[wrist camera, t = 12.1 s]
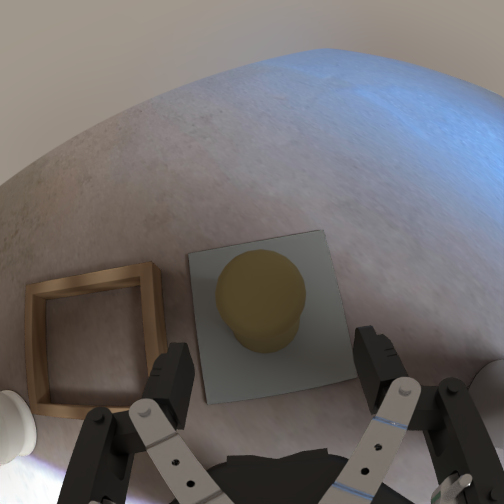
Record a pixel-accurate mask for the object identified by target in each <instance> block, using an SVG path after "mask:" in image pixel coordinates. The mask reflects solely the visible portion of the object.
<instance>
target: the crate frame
mask: <svg viewBox="0 0 504 504" xmlns="http://www.w3.org/2000/svg"><path fill="white" fill-rule="evenodd" d="M139 285H140V287H141V305H142V319H143V331H144V342H145V352H146V361H147V369H148V377H149V376H150V372H151V370H152V367H153V364H154V361H155V360H156V359H157V357H158V356H159V355H160V354H161V353H167V351H168V346H167V337H166V328H165V317H164V306H163V294H162V280H161V270H160V269H159V268H158V267H157V266H156V265H155V264H154V263H153V262H152V261H150V262H145V263H139V264H134V265H129V266H123V267H118V268H112V269H107V270H102V271H96V272H91V273H86V274H81V275H75V276H70V277H65V278H60V279H54V280H49V281H44V282H39V283H34V284H28V285H26V294H25V361H26V375H27V387H28V396H29V404H30V411H31V414H37V415H44V416H52V417H61V418H71V419H82V420H85V417H86V415H87V413H88V412H89V411H90V410H92V409H93V408H95V407H100V406H92V405H72V404H58V403H51V398H50V389H49V379H48V367H47V351H46V300H49V299H56V298H63V297H69V296H76V295H82V294H89V293H95V292H101V291H108V290H114V289H120V288H126V287H133V286H139ZM102 407H106V408H108V409H109V410H110V411H111V412H112V413H116V412H122V411H127V410H129V409H130V407H131V406H102Z"/></svg>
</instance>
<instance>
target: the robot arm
mask: <svg viewBox="0 0 504 504" xmlns="http://www.w3.org/2000/svg"><path fill="white" fill-rule="evenodd" d="M353 360H354V364H355V367H356V370H357V373H358V376H359V379H360V382H361V385H362V388H363V391H364V394H365V397H366V400H367V403H368V406H369V409H370V412H371V415H373V414H376V416H375V417H373V419H372V420H371V422H370V424H369V426H368V428H367V430H366V431H365V433H364V435H363V437H362V439H361V440H360V442H359V444H358V445H357V447H356V449H355V451H354V452H353V454H352V456H351V457H350V459H347V458H345V457H342V456H338V455H332V454H328V451H327V448H324V449H317V450H309V451H302V452H299V453H296V454H293V455H290V456H286V457H283V458H280V459H272V458H266V457H259V456H253V455H241V456H227V462H224V463H221V464H218V465H215V466H213V467H211V468H209V469H208V470H205V469H204V468H203V467H202V465H201V464H200V463H199V461H198V460H197V459H196V457H195V456H194V455H193V453H192V452H191V451H190V449H189V448H188V447H187V445H186V444H185V442H184V441H183V440H182V438H181V437H180V435H179V434H178V433H176V429H182V430H184V427H185V422H186V417H187V411H188V406H189V401H190V396H191V391H192V386H193V381H194V376H195V370H194V364H193V361H192V358H191V355H190V352H189V348H188V345H187V343H170V345H169V348H168V351H167V353H161V354H160V355H159V356H158V357H157V359H156V360H155V361H154V364H153V367H152V370H151V372H150V376H149V378H148V381H147V384H146V387H145V390H144V392H143V395H142V398H141V400H138V401H136V402H135V403H133V404H132V406H131V407H130V409H129V410H127V411H122V412H116V413H112V412H111V411H110V410H109V409H108V408H106V407H102V406H100V407H95V408H93V409H92V410H90V411H89V412H88V413H87V415H86V417H85V420H84V422H83V425H82V428H81V431H80V433H79V436H78V439H77V442H76V445H75V447H74V450H73V453H72V456H71V459H70V462H69V465H68V469H67V472H66V475H65V478H64V481H63V485H62V488H61V491H60V495H59V498H58V502H57V504H125V500H126V495H127V489H128V484H129V479H130V473H131V468H132V463H133V459H134V454H135V453H138V452H143V451H147V452H148V454H149V456H150V457H151V459H152V461H153V463H154V464H155V466H156V468H157V469H158V471H159V472H160V474H161V476H162V477H163V479H164V480H165V482H166V484H167V485H168V487H169V488H170V490H171V491H172V493H173V494H174V496H175V497H176V498H175V499H174V500H173V501H172V502H171V503H169V504H414V503H413V502H411V501H410V500H408V499H407V498H405V497H403V496H402V495H400V494H399V493H397V492H396V491H394V490H393V489H391V488H390V487H388V486H387V485H386V484H384V483H383V482H382V481H383V479H384V477H385V475H386V473H387V471H388V470H389V468H390V465H391V463H392V461H393V459H394V457H395V455H396V453H397V451H398V449H399V446H400V444H401V442H402V440H403V437H404V435H405V433H406V430H423V433H424V436H425V440H426V443H427V446H428V449H429V452H430V456H431V459H432V462H433V466H434V469H435V473H436V476H437V480H438V484H439V486H438V488H437V489H436V490H435V491H434V492H433V494H432V497H431V504H504V470H503V468H502V465H501V463H500V460H499V458H498V455H497V453H496V450H495V448H494V447H496V448H500V449H504V359H502V360H496V361H493V362H491V363H489V364H487V365H486V366H485V367H483V368H482V369H481V370H480V372H479V373H478V374H477V375H476V377H475V378H474V380H473V382H472V383H471V385H470V388H469V390H467V388H466V386H465V384H464V383H463V382H462V381H461V380H459V379H456V378H447V379H444V380H443V381H441V383H440V384H439V386H421V385H420V384H419V383H418V382H417V381H416V380H415V379H413V378H410V377H409V376H408V374H407V372H406V370H405V368H404V366H403V364H402V362H401V360H400V358H399V356H398V355H397V352H396V350H395V349H394V346H393V344H392V343H391V341H390V340H389V339H388V338H387V337H386V336H385V335H383V334H381V335H377V334H376V332H375V330H374V328H373V327H372V326H364V327H358V328H356V330H355V339H354V348H353Z"/></svg>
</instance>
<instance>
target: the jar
mask: <svg viewBox="0 0 504 504" xmlns="http://www.w3.org/2000/svg"><path fill="white" fill-rule="evenodd" d="M35 445H36V426H35V422H34V418H33V416H32V414H31V411H30V409H29V407H28V405H27V404H26V402H25V401H24V400H23V399H22V397H21V396H19V395H18V394H17V393H15V392H13V391H10V390H4V391H2V392H1V391H0V466H1V465H4V464H7V463H9V462H10V461H12V460H13V459H15V458H16V457H17V456H27V455H29V454H30V453H31V452H32V451H33V450H34V448H35Z"/></svg>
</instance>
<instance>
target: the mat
mask: <svg viewBox="0 0 504 504" xmlns="http://www.w3.org/2000/svg"><path fill="white" fill-rule="evenodd" d="M258 249H264V250H270V251H275V252H277V253H279V254H281V255H283V256H285V257H287V258H288V259H289V260H290V261H291V262H292V263H293V264H294V265H295V266H296V267H297V268H298V270H299V272H300V274H301V275H302V277H303V279H304V283H305V289H306V300H305V306H304V309H303V311H302V313H301V315H300V323H299V329H298V331H297V333H296V335H295V337H294V339H293V340H292V341H291V342H290V343H289V344H288V345H287V346H286V347H285V348H283V349H281V350H279V351H277V352H272V353H265V354H263V353H258V352H253V351H251V350H249V349H247V348H245V347H243V345H242V344H241V343H240V342H239V341H238V340H237V339H236V338H235V335H234V333H233V331H232V329H231V328H230V327H229V326H228V325H227V324H226V323H225V322H224V321H223V320H222V318H221V316H220V314H219V311H218V309H217V307H216V299H215V290H216V286H217V281H218V277H219V275H220V274H221V272H222V270H223V269H224V267H225V266H226V265H227V264H228V263H229V262H230V261H231V260H232V259H233V258H234V257H236V256H238V255H240V254H242V253H244V252H247V251H251V250H258ZM188 256H189V266H190V277H191V287H192V296H193V305H194V313H195V322H196V330H197V338H198V345H199V352H200V360H201V367H202V373H203V380H204V386H205V393H206V399H207V404H216V403H225V402H234V401H241V400H249V399H256V398H262V397H268V396H274V395H280V394H286V393H291V392H296V391H301V390H306V389H311V388H316V387H320V386H325V385H329V384H333V383H337V382H341V381H345V380H349V379H353V378H357V372H356V367H355V364H354V360H353V352H352V347H351V342H350V337H349V332H348V328H347V323H346V318H345V314H344V310H343V305H342V301H341V297H340V292H339V288H338V284H337V280H336V276H335V272H334V268H333V264H332V260H331V256H330V252H329V249H328V245H327V241H326V238H325V234H324V230H319V231H313V232H307V233H302V234H296V235H290V236H284V237H279V238H273V239H267V240H261V241H256V242H250V243H244V244H239V245H233V246H228V247H222V248H216V249H211V250H205V251H200V252H194V253H189V254H188Z"/></svg>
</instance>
